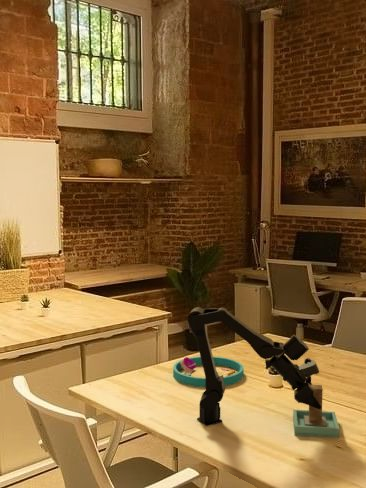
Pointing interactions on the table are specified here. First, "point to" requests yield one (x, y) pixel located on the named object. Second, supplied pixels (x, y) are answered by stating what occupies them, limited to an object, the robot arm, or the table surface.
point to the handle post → (316, 410)
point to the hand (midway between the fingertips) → (319, 403)
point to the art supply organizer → (187, 379)
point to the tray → (315, 431)
